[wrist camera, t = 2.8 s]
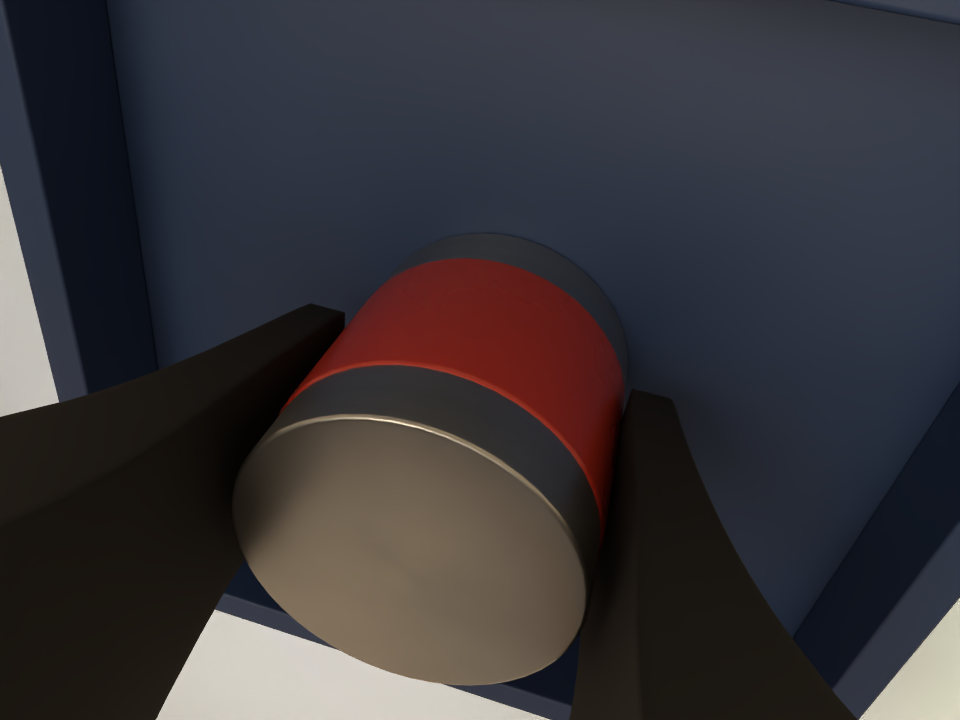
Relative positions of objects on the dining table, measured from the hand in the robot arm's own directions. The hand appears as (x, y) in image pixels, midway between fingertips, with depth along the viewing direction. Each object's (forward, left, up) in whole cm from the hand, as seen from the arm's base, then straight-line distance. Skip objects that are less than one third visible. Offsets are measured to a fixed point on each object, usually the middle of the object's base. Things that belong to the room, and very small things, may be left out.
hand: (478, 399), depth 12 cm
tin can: (0, 0, -1) cm, 1 cm away
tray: (0, 0, -2) cm, 2 cm away
